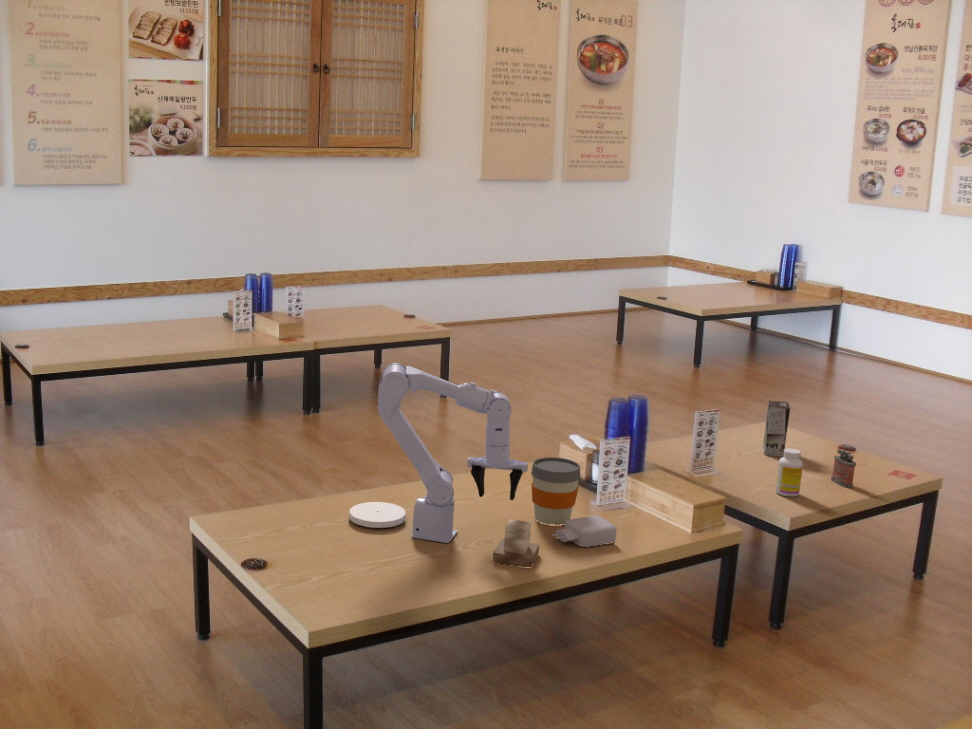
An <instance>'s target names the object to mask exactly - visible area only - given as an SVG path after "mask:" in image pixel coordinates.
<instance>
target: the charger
mask: <svg viewBox="0 0 972 729" xmlns="http://www.w3.org/2000/svg"><path fill="white" fill-rule="evenodd" d="M551 535H552V537H555V539H556V540H557V539H559V541H561V542H563V543H566V542H572V541H573V542H575V543H576V544H577V545H576V544H575V543H574V544H575V545H576V546H578V545H579V546H578V547H580V546H581V547H580V548H582V547H587V548H590V547H589V546H594V547H596V546H595V545H600V546H602V545H601V544H605V543H611V542H615V543H616V538H617V527H616V526H615V525H614V524H612V523H611V522H610V521H608V520H606V519H604V518H603V517H601V516H600V515H592V516H585V517H576V518H570V519H569V520H566V522H565V526H564V528H563V529H557V530H555V531H554V533H552V534H551ZM573 542H572V543H573Z"/></svg>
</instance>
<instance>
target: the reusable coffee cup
mask: <svg viewBox="0 0 972 729" xmlns="http://www.w3.org/2000/svg"><path fill="white" fill-rule="evenodd" d="M530 472H531V475H532V476H531V477H532V482H531V483H530V484H531V485H530V486H531V501H532V503H533V511H534V520H535V519H536V520H538V521H539V522H542V523H546V524H555V525H558V524H559V525H560V524H565V522H566V520H569V519H571V517H572V511H573V507H574V506H575V505H576V503H577V502H576V501H577V497H578V492H579V486H578V485H579V480H580V479H581V465H580V464H579V463H578V462H576V461H574V460H572V459H568V458H564V457H556V456H555V457H552V456H550V457H549V456H548V457H540V458H537V459H535V460H533V461H532V467H531V471H530Z"/></svg>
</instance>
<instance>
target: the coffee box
mask: <svg viewBox="0 0 972 729" xmlns="http://www.w3.org/2000/svg"><path fill="white" fill-rule="evenodd" d="M767 403H768V404H767V411H766V419H765V427H764V434H763V435H764V436H763V442H762V449H763V450H762V451H763V454H764V456H772V457H780V458H782V457H784V449H786V440H787V434H788V426H789V419H790V412H791V407H790V404H789V402H787V401H778V400H768V402H767Z"/></svg>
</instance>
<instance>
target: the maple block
mask: <svg viewBox="0 0 972 729" xmlns="http://www.w3.org/2000/svg"><path fill="white" fill-rule="evenodd" d="M531 528H532V522H531V521H525V520H524V521H523V520H518V519H509V520H508V521H507V523H506V525H505V526H504V537H503V539H504V551H507V552H513V553H519V554H525V553H526V551H527V549H528V548H529V543H530V540H531Z"/></svg>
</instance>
